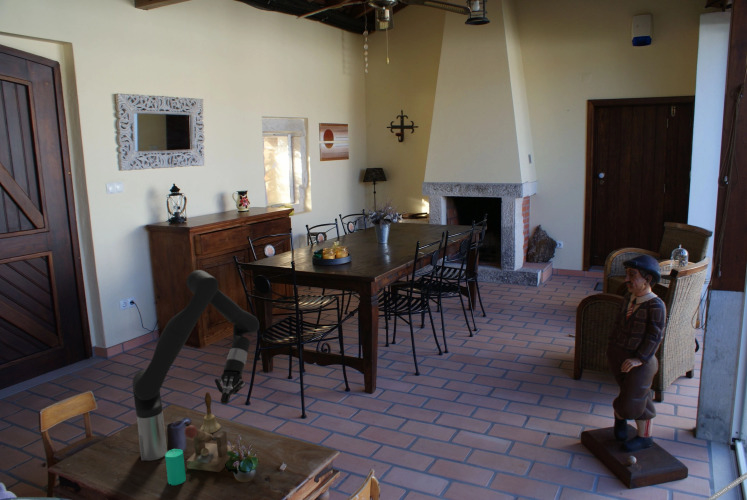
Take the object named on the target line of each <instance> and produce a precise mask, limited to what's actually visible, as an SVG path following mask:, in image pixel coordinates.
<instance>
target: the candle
mask: <svg viewBox="0 0 747 500" xmlns="http://www.w3.org/2000/svg"><path fill="white" fill-rule="evenodd" d="M184 457H185V456H184V450H183V449H180V448H173V449H169V450H167V453H166V454H165V456H164V458H165V460H164V461H165V467H166V468H165V469H166V475H167V483H168V485H170V484H171V486H178V485H180V484H183V483H185V481H186V480H187V476H186V465H185V458H184Z"/></svg>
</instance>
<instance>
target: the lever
mask: <svg viewBox="0 0 747 500" xmlns="http://www.w3.org/2000/svg"><path fill="white" fill-rule="evenodd" d="M184 435H185V437H186V438H189V439H191V438H193V439H194V437H195V438H198V439H201V440H204V441H205V442H206V443H210V442H212V441H214V442H217V439H216V437H217V436H213V435H212V433H206V432H204V431H201V430H199V429H197V426H196V425H193V424H190V425H188V426H186V428H185V429H184Z"/></svg>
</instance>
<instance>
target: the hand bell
mask: <svg viewBox="0 0 747 500" xmlns="http://www.w3.org/2000/svg"><path fill="white" fill-rule="evenodd" d="M204 404H205V406H206V415H204V417H203V422H202V425H201V427H200V429H203V430H204V432H206V433H209V434H212V433H216V432H218V431H220V429H221V427H222V425H221V424H220V423H218V421H217V420H216V416H215V415H214V414H212V409H211V406H212V397H211V394H210V392H209V391H206V392H205V396H204Z"/></svg>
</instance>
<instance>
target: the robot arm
mask: <svg viewBox="0 0 747 500" xmlns="http://www.w3.org/2000/svg"><path fill="white" fill-rule="evenodd" d="M186 286H187V289H189V291H190V292H191V293H192V294H193V295H192V297H191V299H190V300H189V302H188V304H187V305H186V306H185V308H184V309H182V310H181V311H180V312H178V313H177V314H175V315H174V316H172V318H170V319H169V321H168V322H167V323H166V324H165V327H164V328H163V330H162V332H161V334H160V336H159V338H158V341H157V343H156V347H155V349H154V352H153V355H152V358H151V360H150V362H149V365H148V366H147V368H145V369H142V370H140V371H138V372H136V374H135V375H134V376H133V378H132V391H133V397H134V398H133V399H134V408H135V413H136V420H137V421H136V422H137V430H138V431H137V432H138V442H139V443H138V444H139V451H140V452H139V453H140V458H141V462H142V461H150V462H151V461H157V460H160V459H162V458H163V457H165V454H166V453H167V452H168V447H167V436H166V429H165V420H164V412H163V403H162V398H161V388H162V386H163V384H164V382H165V379H166V377H167V375H168V373H169V371H170V368H171V367H172V365H173V364H174V362H175V360H176V359H177V357H178V355H179V354H180V352H181V351H182V349H183V347H184V346H185V344H186V342H187V341H188V339H189V337H190V335H191V333H192V331H193V329H194V327H195V326H196V324H197V323H198V321H199V319H200V318H201V316H202V314H204V312H205V309H207V308H208V306H209V304H210V305H211V306H212V307H213V308H215V310H217V312H218V313H219V314H221V316H223V317H224V318H225V319H226V320H227V321H228V322H230V323H231V324H233V326H232V328H233V329H232V331H233V332H232V343H231V347H230V350H229V352H228V355H227V357H226V360H225V365H224V367H223V373H222V374H221V376H220V377H219V378H215V379H214V382H215V385H216V387H217V390H218V392H220V394H221V398H220V403H221V404H222V405H225V406H226V405H228V403H229V402H230V398H231V396H232V395H236V394H237V393H238V392H239V391H240V390H242V389H243V388H244V387H245V386H246V383H245V381H243V380H242V379H243V377H242V376H243V373H244V370H245V367H246V363H247V358H248V352H249V350H250V349H249V348H250V345H251V340H250V339H249V338H247V337H245V335H250V334H256V333H257V332H258V331H259V329H260V321H259V319H258V318H257V317H256V316H255V315H253V314H252V313H251V312H248V311H247V310H244V309H242V307H240V306H239V305H238V304H237V303H236V302H235V301H234V300H232V299H231V298H230V297H229V296H227V295H226V294H225V293H224V292H222V291H221V290H220V289H219V281H218V279H217V278H215V276H214V275H212V274H210V273H208V272H207V271H204V270H202V269H196V270H193V271H192V272H190V274H188V275H187V278H186ZM222 384H223V385H222Z"/></svg>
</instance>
